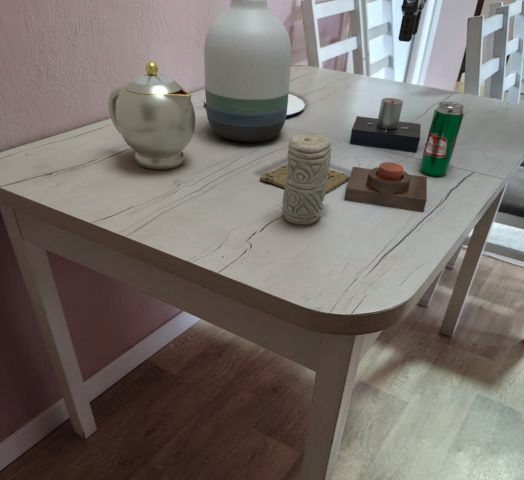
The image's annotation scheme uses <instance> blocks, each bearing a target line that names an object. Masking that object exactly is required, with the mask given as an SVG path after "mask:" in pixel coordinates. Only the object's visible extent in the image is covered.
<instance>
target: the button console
mask: <svg viewBox="0 0 524 480" xmlns="http://www.w3.org/2000/svg"><path fill="white" fill-rule="evenodd" d="M378 168H379V166H378V167H377V166H376V167H373V168H366V167H358V166H352V169H351V172H350V175H349V177H350V178H349V180H348V181H347V185H346V188H345V194H344V201H347V202H355V203H359V204H360V203H361V204H368V205H373V206H374V205H375V206H379V207H380V206H381V207H386V208H387V207H388V208H394V209H398V210H399V209H400V210H407V211H413V212H420V213H424V211H425V208H426V203H427V201H428V192H427V191H428V186H427V185H428V177H427V176H423V175H415V174H409V173H408V172H407V171H405V170H403V174H402V178H401V180H394V181H392V180H385V179H382V178H380V177H378V176H377V173H378Z"/></svg>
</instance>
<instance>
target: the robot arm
mask: <svg viewBox="0 0 524 480" xmlns="http://www.w3.org/2000/svg"><path fill="white" fill-rule="evenodd" d="M426 3H427V0H403V1H402V4H401V6H400V8H401V15H402V18H401V23H400V27H399V33H398V41H399V42H405V43H409V42H410V41H412V39H413V36H414V35H417V34H418V31H419V26H420V21H421V17H422V13H423V10H424V8H425V5H426Z"/></svg>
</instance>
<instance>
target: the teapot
mask: <svg viewBox="0 0 524 480" xmlns="http://www.w3.org/2000/svg"><path fill="white" fill-rule="evenodd" d="M144 69H145V73H142V74H139V75H137V76H136V77H133V78H132V79H131V80H129V81H128V82H127V83H126V84H125V85H124V86H118V87H115V88H113V90H112V91H110V94H109V96H108V100H107V106H108V113H109V117H110V119H111V122H112V124H113V126H114V128H115V129H116V131H117V132H118V133H119V134H120V135H121V137H122V139H123V140H124V142H125V143H126V145H128V147H130V149H132V151H134V152H135V155H134V159H135V162H136V163H137V164H138V165H139V166H141V167H143V168H146V169H148V170H149V169H150V170H157V171H158V170H170V169H174V168H177V167H178V166H180V165H182V163H183V162H184V160H185V155H184V152H183V151H184V150H185V149H186V148H187V147H188V145H189V144H190V143H191V140H192V139H193V136H194V133H195V129H196V111H195V108H194V104H193V101H192V93H190V92H188V91H187V90H185V89H184V87H183V86H182V85H180V83H178V82H177V81H176V80H175V79H173V78H171V77H170V76H167V75H164V74H161V73H158V72H159V67H158V64H157V63H156V62H155V61H147V63H146V64H145V68H144Z"/></svg>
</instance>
